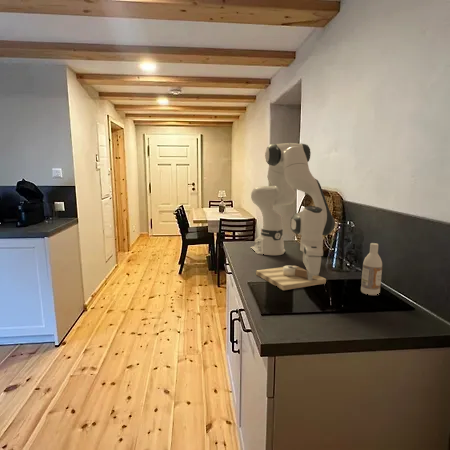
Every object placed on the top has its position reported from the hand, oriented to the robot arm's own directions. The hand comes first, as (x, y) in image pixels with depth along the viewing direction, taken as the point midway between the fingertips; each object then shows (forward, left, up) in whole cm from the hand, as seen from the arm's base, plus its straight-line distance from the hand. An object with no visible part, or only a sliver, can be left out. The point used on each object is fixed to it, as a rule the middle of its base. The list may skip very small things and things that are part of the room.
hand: (309, 279), depth 136 cm
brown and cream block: (-9, +1, -1) cm, 10 cm away
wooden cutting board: (-12, -1, -4) cm, 13 cm away
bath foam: (+14, +19, -4) cm, 24 cm away
